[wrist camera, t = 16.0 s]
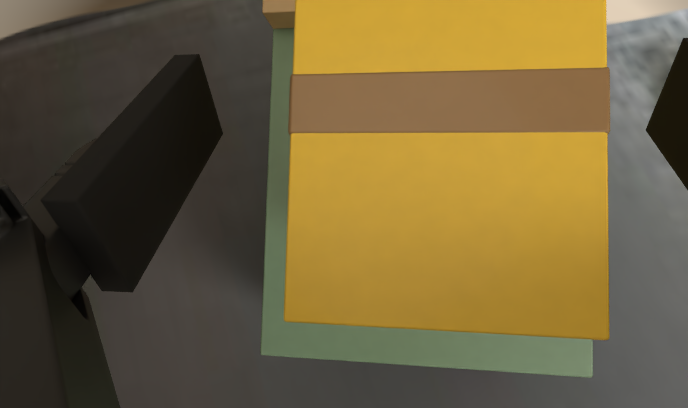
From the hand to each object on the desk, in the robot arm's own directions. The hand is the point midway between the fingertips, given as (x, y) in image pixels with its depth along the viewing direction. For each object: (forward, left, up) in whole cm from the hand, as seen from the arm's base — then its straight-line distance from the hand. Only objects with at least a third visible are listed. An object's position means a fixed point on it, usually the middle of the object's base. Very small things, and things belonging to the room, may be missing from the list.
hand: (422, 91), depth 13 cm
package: (0, -2, -7) cm, 7 cm away
